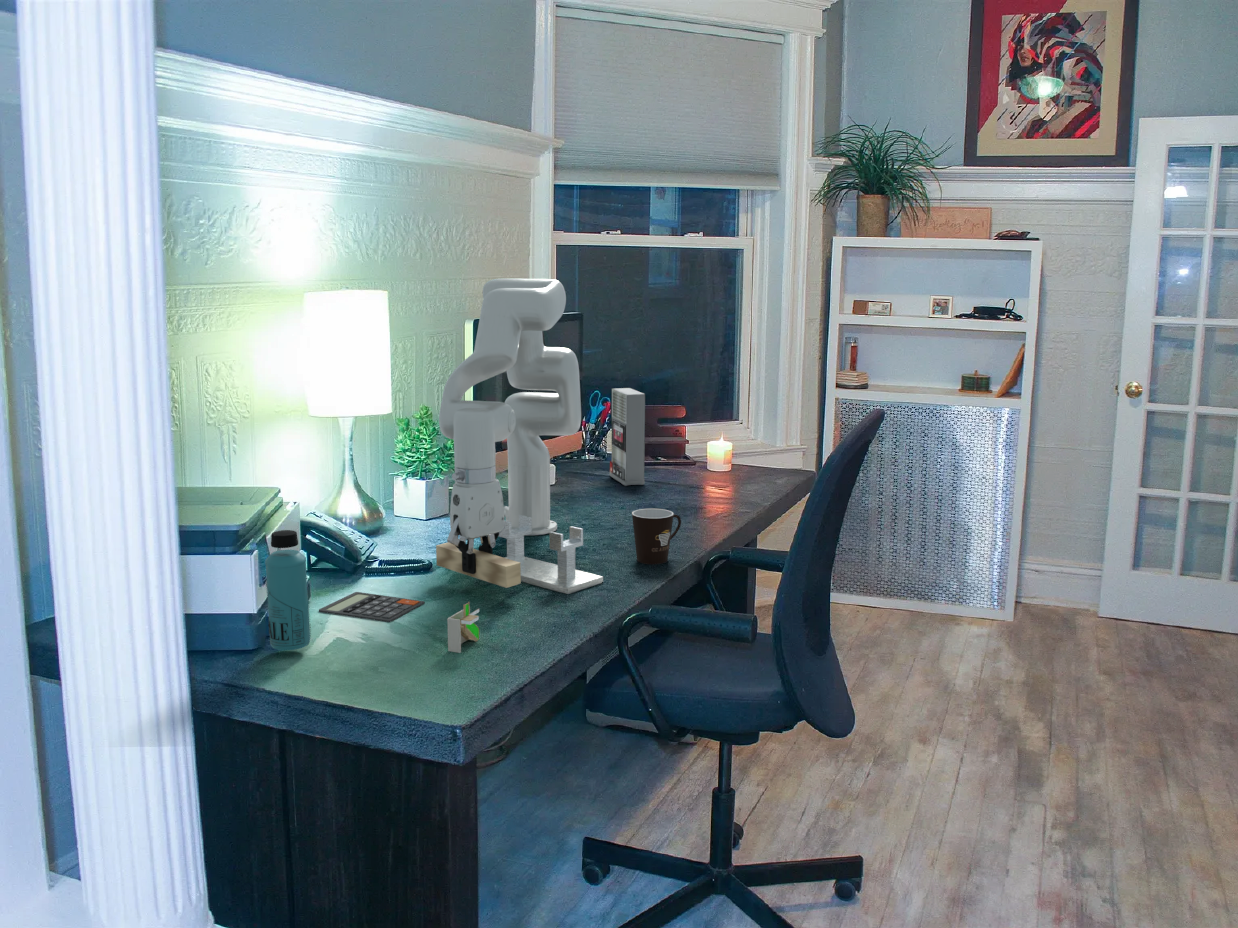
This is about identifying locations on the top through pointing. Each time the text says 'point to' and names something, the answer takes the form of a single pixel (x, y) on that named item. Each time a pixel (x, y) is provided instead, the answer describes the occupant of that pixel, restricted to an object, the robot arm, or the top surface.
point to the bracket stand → (544, 572)
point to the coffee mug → (653, 534)
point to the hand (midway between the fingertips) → (477, 568)
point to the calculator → (372, 606)
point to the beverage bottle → (287, 594)
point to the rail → (481, 565)
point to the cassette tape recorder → (628, 436)
